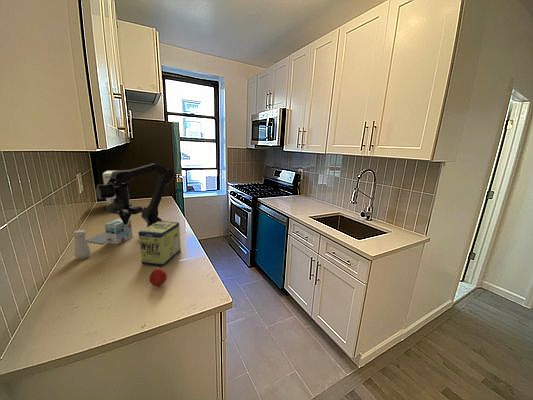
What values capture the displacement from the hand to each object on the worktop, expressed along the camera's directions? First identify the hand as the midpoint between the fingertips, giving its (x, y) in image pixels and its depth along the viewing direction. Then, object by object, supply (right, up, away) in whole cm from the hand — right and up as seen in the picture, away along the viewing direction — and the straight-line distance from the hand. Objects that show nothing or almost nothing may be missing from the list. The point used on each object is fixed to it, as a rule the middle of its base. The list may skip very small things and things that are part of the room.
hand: (125, 224), depth 119 cm
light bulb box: (-5, -9, +3) cm, 11 cm away
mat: (-15, -8, +6) cm, 18 cm away
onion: (+34, -20, -34) cm, 52 cm away
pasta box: (-47, +8, +64) cm, 79 cm away
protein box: (+26, -14, -13) cm, 32 cm away
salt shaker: (-10, -14, -16) cm, 23 cm away
